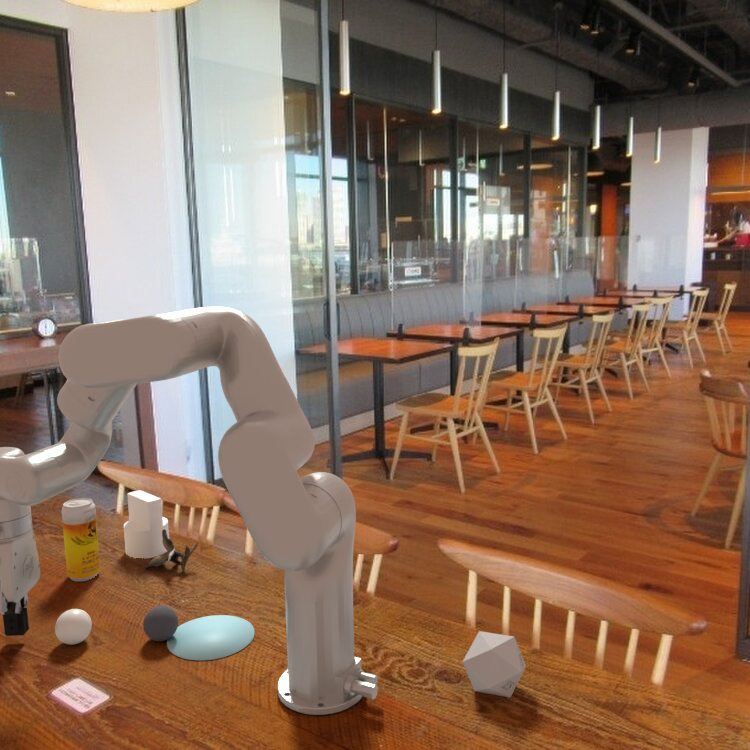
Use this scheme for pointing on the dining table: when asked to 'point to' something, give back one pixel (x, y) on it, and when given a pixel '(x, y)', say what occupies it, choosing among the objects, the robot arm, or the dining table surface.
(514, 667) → the die
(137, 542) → the base with upright slab
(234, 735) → the dining table surface
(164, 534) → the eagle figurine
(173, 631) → the object ball
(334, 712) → the robot arm
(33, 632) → the dining table surface
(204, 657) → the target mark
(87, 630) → the cue ball
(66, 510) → the beer can
